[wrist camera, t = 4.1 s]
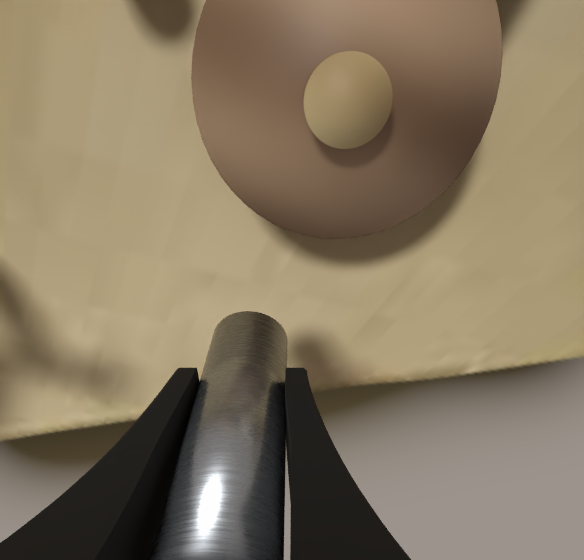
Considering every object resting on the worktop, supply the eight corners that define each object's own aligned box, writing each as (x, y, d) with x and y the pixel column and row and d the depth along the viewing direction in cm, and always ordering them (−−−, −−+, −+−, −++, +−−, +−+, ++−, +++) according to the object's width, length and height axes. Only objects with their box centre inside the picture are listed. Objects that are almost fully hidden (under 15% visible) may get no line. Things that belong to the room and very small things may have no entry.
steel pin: (296, 359, 15) (300, 603, 8) (230, 375, 16) (182, 618, 9) (273, 303, 14) (254, 543, 7) (200, 322, 14) (115, 564, 7)
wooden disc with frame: (383, 244, 20) (402, 283, 16) (181, 163, 17) (153, 189, 14) (658, -217, 11) (815, -336, 8) (341, -476, 9) (370, -790, 6)
